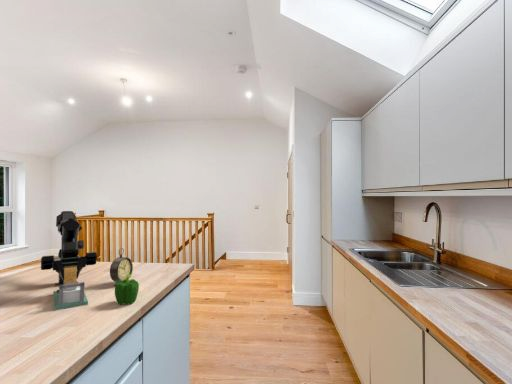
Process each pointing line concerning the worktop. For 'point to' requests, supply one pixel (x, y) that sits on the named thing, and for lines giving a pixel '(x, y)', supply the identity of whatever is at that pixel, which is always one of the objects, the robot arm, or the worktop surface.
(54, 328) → the worktop surface
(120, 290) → the bell pepper
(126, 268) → the alarm clock
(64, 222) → the robot arm
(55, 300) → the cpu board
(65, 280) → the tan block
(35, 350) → the worktop surface
